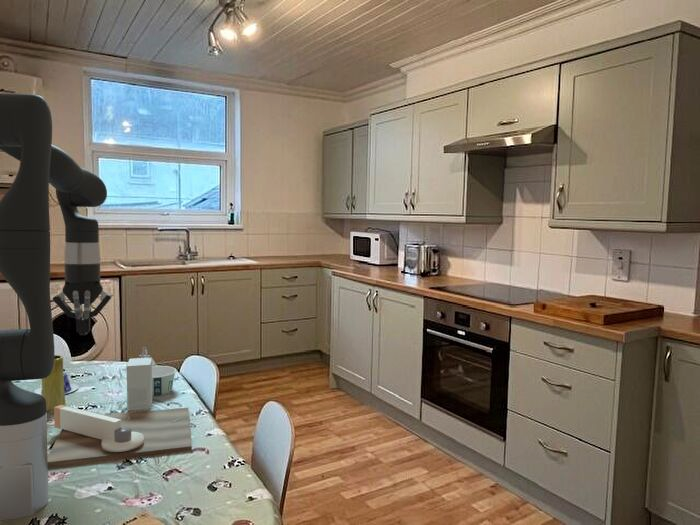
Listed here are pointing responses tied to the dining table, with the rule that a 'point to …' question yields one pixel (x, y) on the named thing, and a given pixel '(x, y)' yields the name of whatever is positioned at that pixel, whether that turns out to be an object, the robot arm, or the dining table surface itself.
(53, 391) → the vase
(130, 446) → the white pivot lever
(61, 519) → the dining table surface
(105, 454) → the board
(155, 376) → the food container
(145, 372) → the small box
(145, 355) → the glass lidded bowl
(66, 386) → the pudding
